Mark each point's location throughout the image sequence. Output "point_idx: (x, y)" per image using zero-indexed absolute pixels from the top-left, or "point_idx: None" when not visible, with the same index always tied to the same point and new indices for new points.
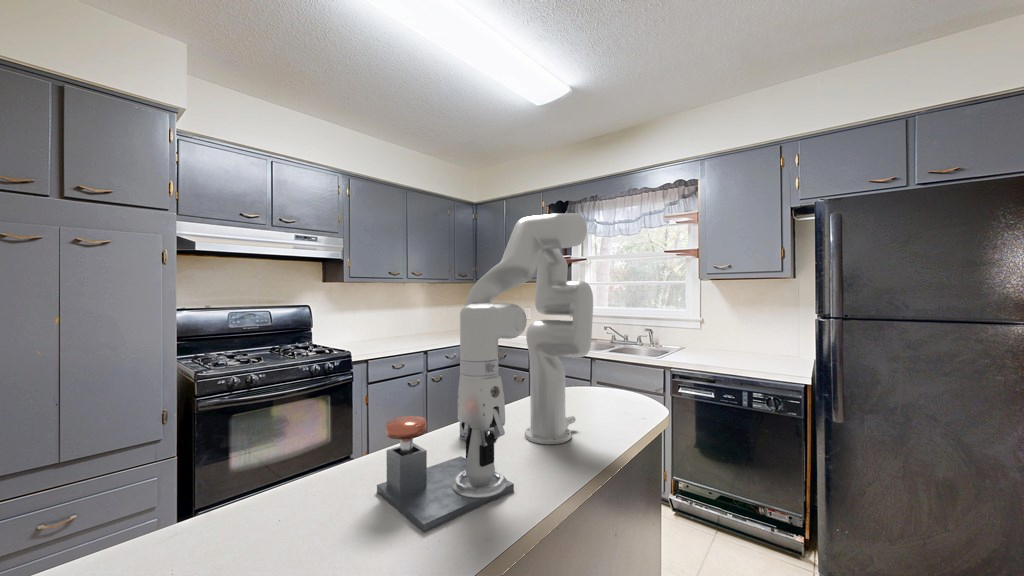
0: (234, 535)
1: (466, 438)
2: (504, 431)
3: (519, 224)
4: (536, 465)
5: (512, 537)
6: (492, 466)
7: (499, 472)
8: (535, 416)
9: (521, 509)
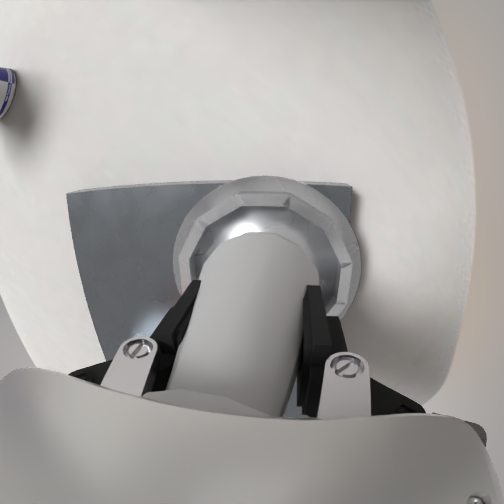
0: None
1: (4, 110)
2: (485, 437)
3: None
4: (255, 3)
5: (453, 327)
6: (315, 283)
7: (282, 198)
8: None
9: (423, 243)
